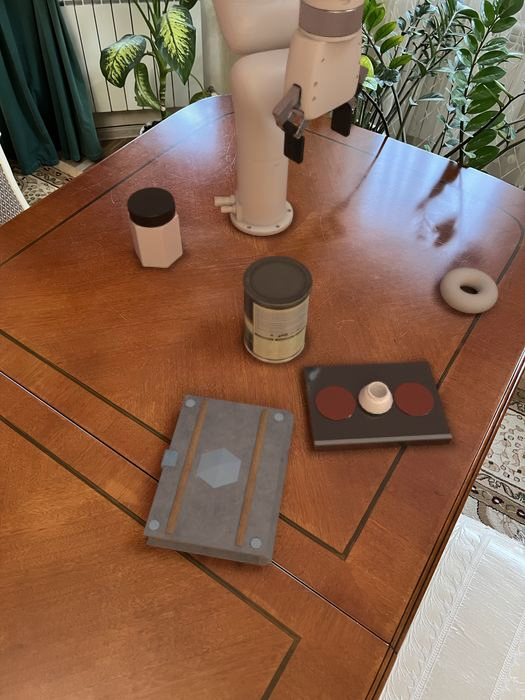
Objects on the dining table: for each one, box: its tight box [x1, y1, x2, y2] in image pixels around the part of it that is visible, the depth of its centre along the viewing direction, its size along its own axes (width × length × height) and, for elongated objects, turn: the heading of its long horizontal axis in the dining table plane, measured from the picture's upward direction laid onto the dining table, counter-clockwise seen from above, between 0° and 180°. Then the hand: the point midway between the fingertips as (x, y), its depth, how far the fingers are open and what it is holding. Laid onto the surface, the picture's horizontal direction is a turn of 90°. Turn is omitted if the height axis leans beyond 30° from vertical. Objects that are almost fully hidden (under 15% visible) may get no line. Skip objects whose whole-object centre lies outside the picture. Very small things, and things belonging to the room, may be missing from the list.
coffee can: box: [242, 255, 314, 364], centre depth 90 cm, size 10×10×14 cm
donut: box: [439, 267, 499, 314], centre depth 101 cm, size 10×4×10 cm
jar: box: [126, 186, 184, 269], centre depth 103 cm, size 9×8×12 cm
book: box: [142, 394, 296, 567], centre depth 77 cm, size 21×16×5 cm
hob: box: [302, 361, 453, 452], centre depth 87 cm, size 20×14×2 cm
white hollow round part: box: [359, 382, 393, 414], centre depth 85 cm, size 5×3×5 cm
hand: (317, 145), depth 81 cm, fingers open, 9 cm apart
